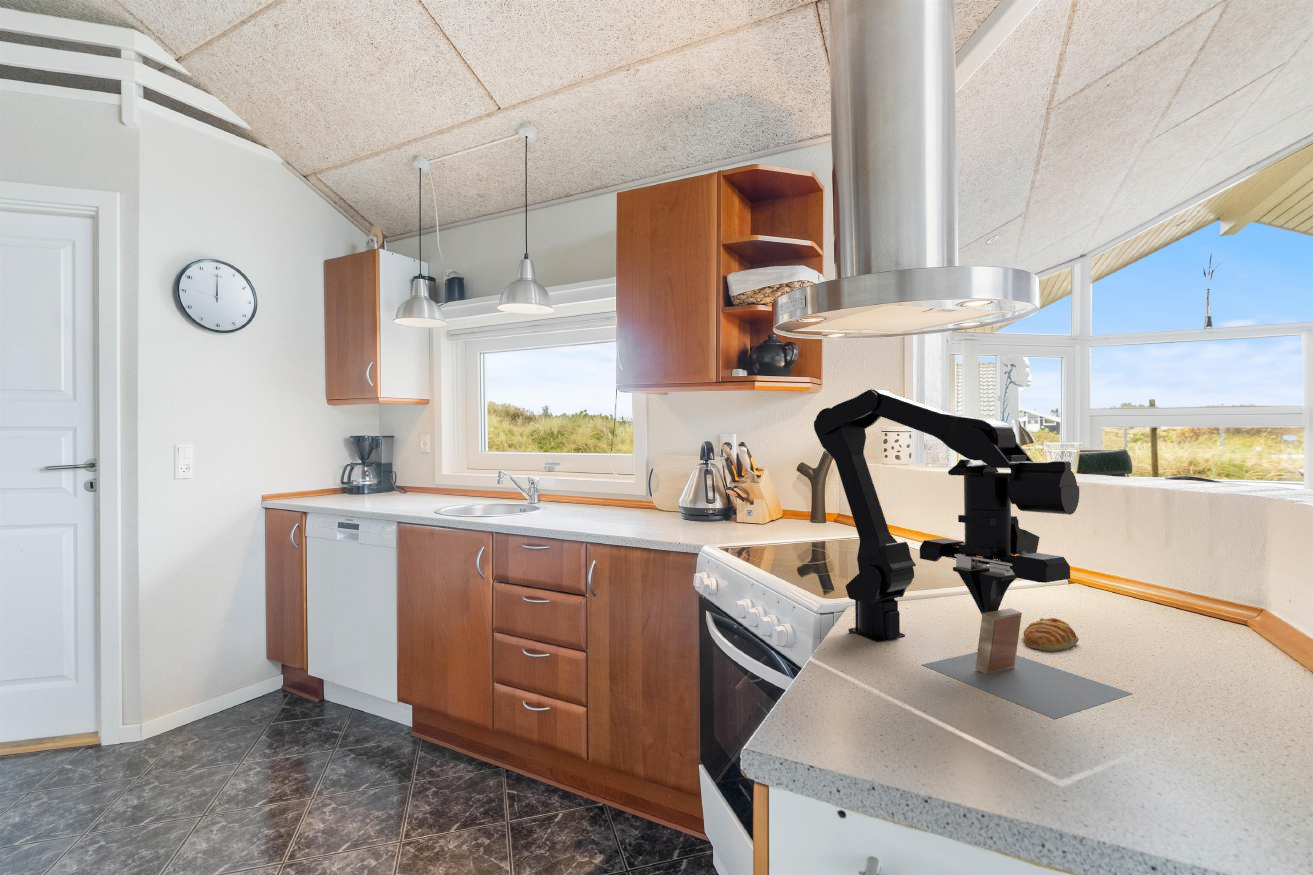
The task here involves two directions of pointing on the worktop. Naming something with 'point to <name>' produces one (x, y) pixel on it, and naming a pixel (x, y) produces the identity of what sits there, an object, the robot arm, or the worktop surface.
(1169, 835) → the worktop surface
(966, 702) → the worktop surface
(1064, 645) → the pastry
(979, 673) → the mat
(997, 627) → the tile
